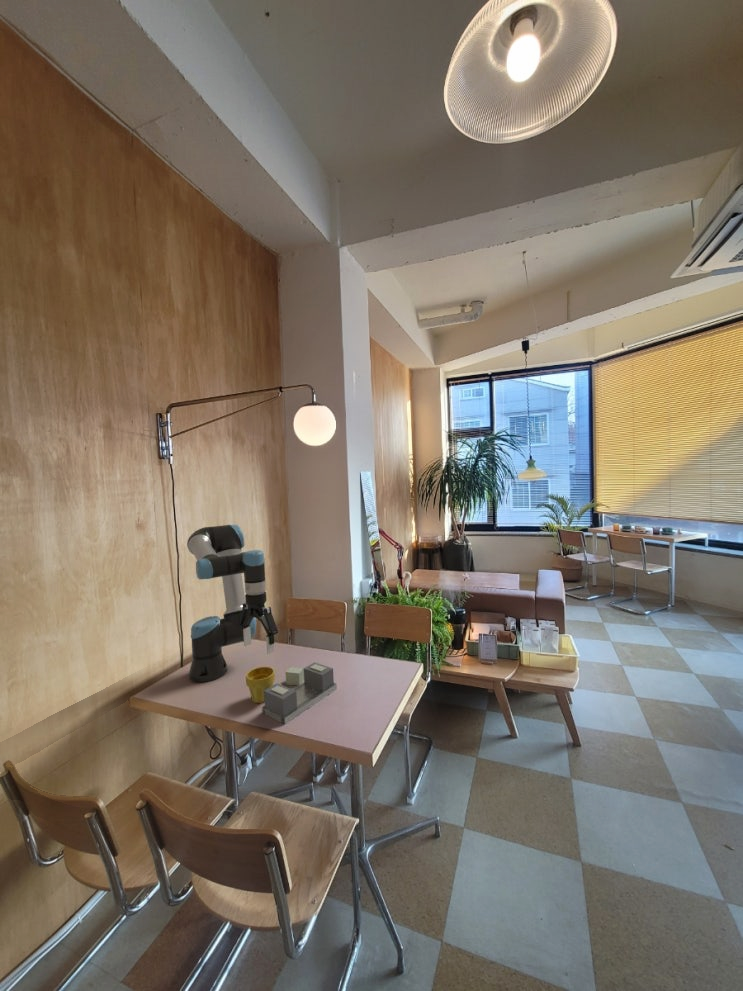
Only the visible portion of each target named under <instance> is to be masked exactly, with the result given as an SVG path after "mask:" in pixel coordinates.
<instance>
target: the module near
mask: <svg viewBox="0 0 743 991" xmlns="http://www.w3.org/2000/svg"><path fill="white" fill-rule="evenodd" d="M263 703H264V706H265V708H267V709H269V710H271V711H273V712H275V713H277V714H279V715H281V716H285V715H287V714H288V713H290V712H291V711H293V710H294V709H296V708H297V695H296V691H295V690H293V688H289V687H287V686H285V685H282V684H281V683H275V684H273V685H272V686H271V687H270V688H268V689H266V690H264V702H263Z"/></svg>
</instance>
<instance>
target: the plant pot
mask: <svg viewBox="0 0 743 991" xmlns="http://www.w3.org/2000/svg"><path fill="white" fill-rule="evenodd" d="M275 680H276V678H275V669H274V668H273V667H270V666H259V667H255V668H251V669H250V670H249V671H248V672H246V674H245V683H246V686H247V687H248V690H249V692H250V696H251V700H252V702H253V703H256V704H259V703H260V704H261V703H264V690H266V689H268V688H270V687H271V686H273V685H274V684H273V683H274V681H275Z"/></svg>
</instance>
